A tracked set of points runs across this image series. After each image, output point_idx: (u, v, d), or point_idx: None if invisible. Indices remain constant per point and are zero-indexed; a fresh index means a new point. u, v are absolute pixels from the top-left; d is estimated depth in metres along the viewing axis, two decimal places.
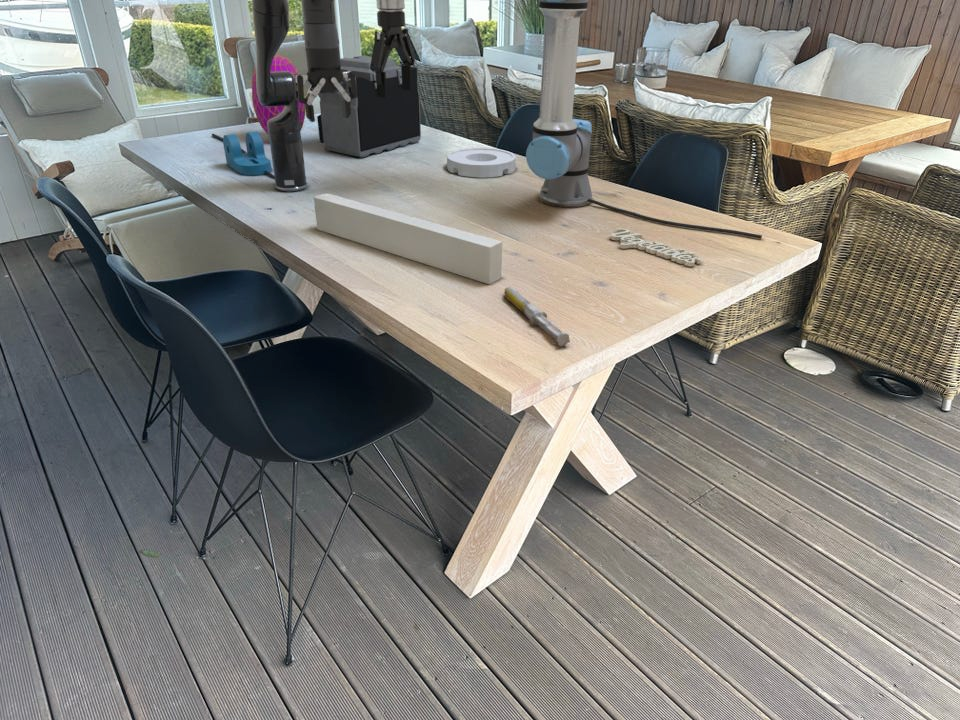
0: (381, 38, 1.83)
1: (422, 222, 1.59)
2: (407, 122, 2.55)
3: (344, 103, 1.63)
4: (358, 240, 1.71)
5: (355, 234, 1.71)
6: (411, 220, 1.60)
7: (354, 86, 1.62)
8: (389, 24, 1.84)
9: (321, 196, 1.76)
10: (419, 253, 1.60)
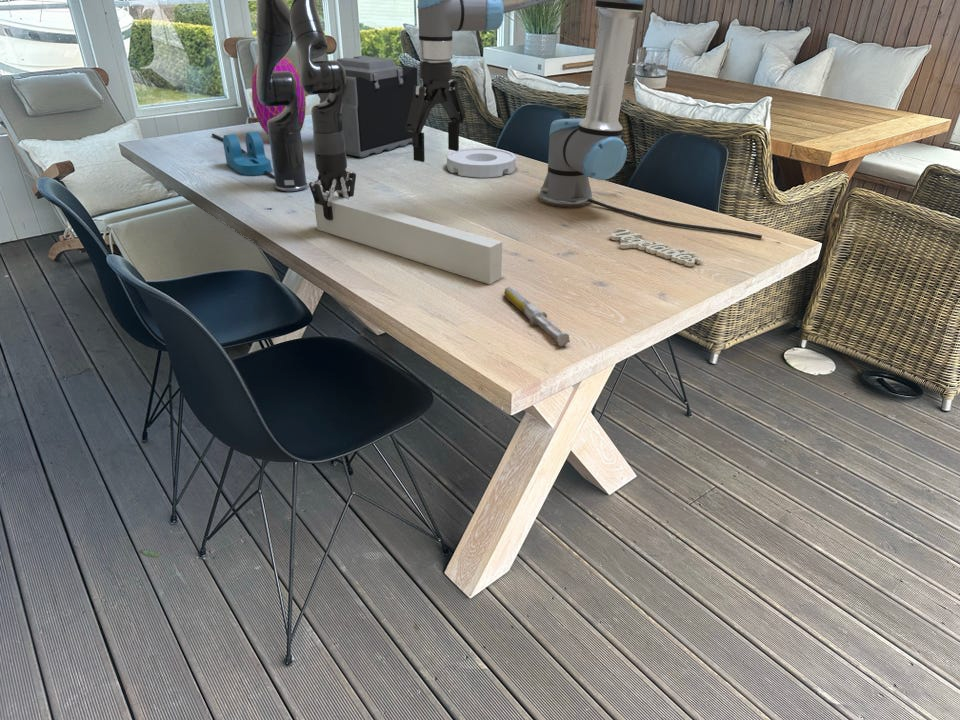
0: (420, 94, 1.53)
1: (422, 222, 1.59)
2: None
3: None
4: (358, 240, 1.71)
5: (355, 234, 1.71)
6: (411, 220, 1.60)
7: (353, 186, 1.76)
8: (431, 77, 1.54)
9: None
10: (419, 253, 1.60)
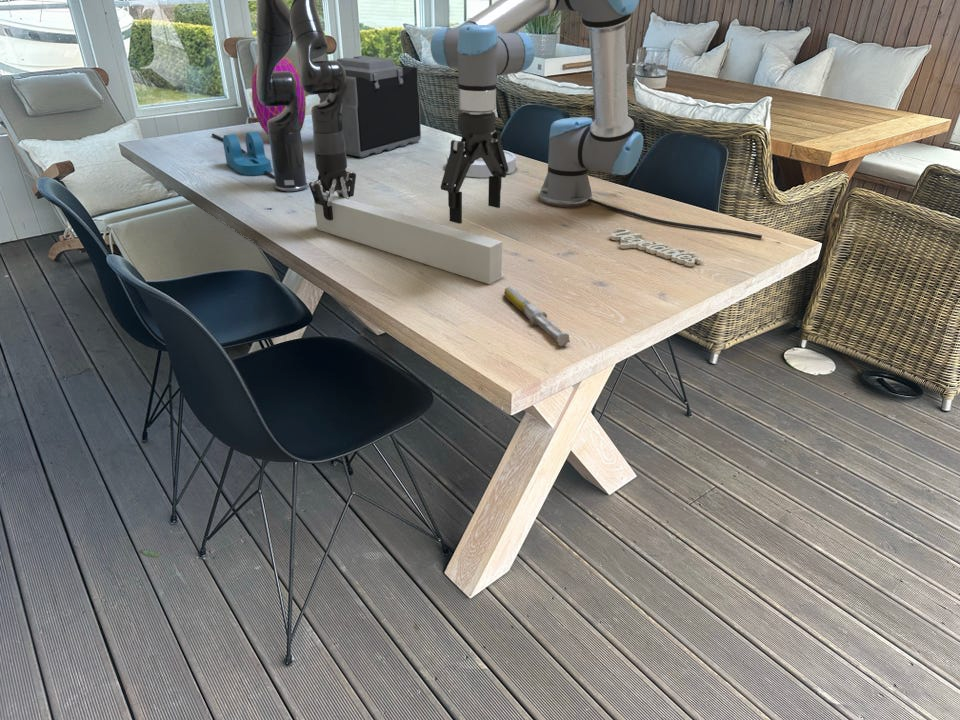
0: (458, 150, 1.35)
1: (422, 222, 1.59)
2: (407, 122, 2.55)
3: None
4: (358, 240, 1.71)
5: (355, 234, 1.71)
6: (411, 220, 1.60)
7: (353, 186, 1.76)
8: (472, 131, 1.35)
9: None
10: (419, 253, 1.60)
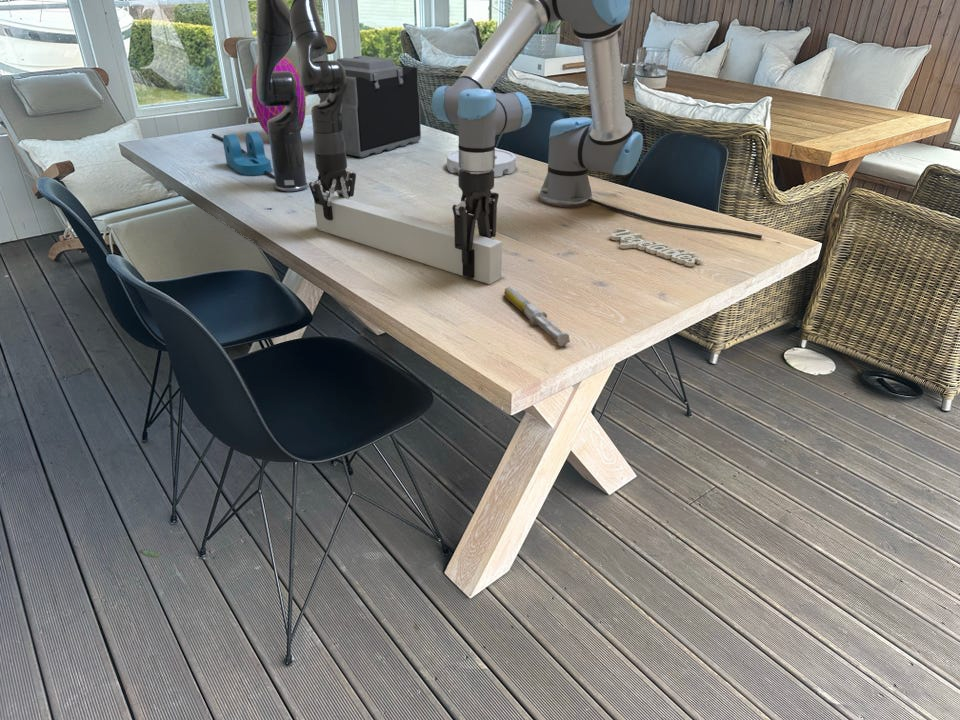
0: (461, 215, 1.42)
1: (422, 222, 1.59)
2: (407, 122, 2.55)
3: None
4: (358, 240, 1.71)
5: (355, 234, 1.71)
6: (411, 220, 1.60)
7: (353, 186, 1.76)
8: (471, 189, 1.41)
9: None
10: (419, 253, 1.60)
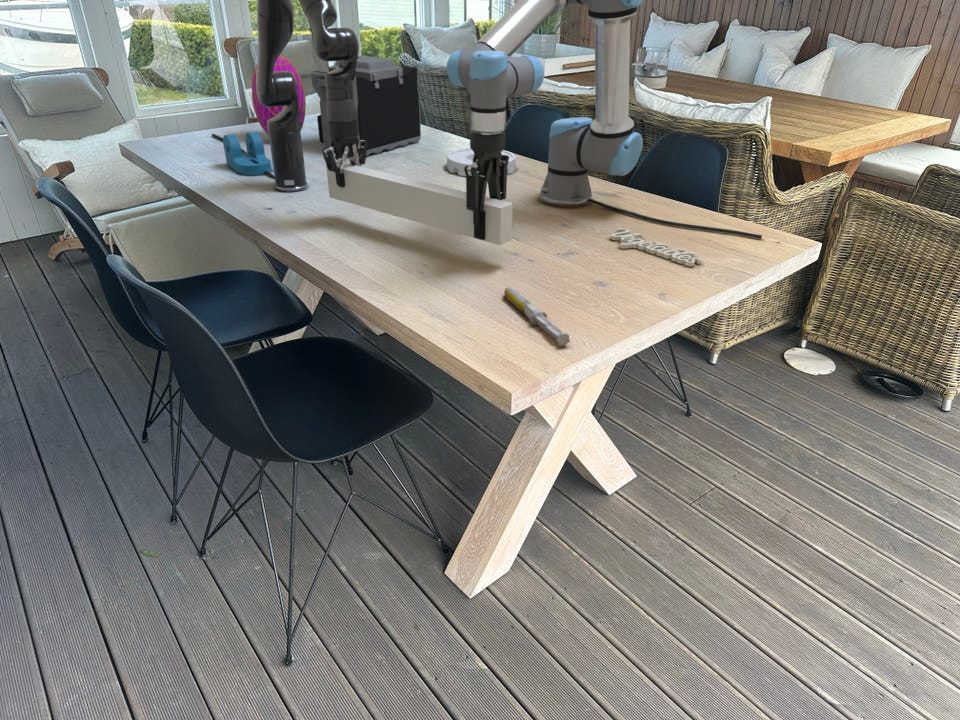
0: (473, 175, 1.45)
1: (433, 186, 1.62)
2: (407, 122, 2.55)
3: None
4: (370, 206, 1.75)
5: (367, 201, 1.74)
6: (422, 185, 1.64)
7: (365, 154, 1.79)
8: (483, 150, 1.44)
9: None
10: (431, 216, 1.63)
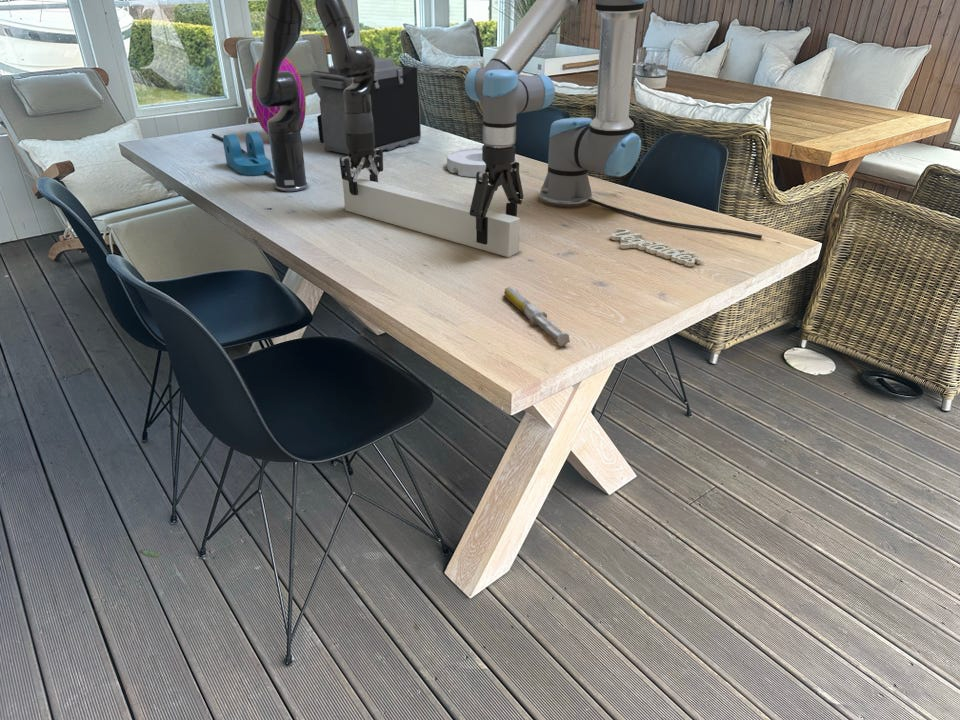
0: (483, 181, 1.54)
1: (445, 201, 1.73)
2: (407, 122, 2.55)
3: (373, 176, 1.89)
4: (384, 219, 1.85)
5: (381, 214, 1.85)
6: (435, 200, 1.74)
7: (381, 161, 1.88)
8: (495, 162, 1.54)
9: None
10: (442, 229, 1.74)
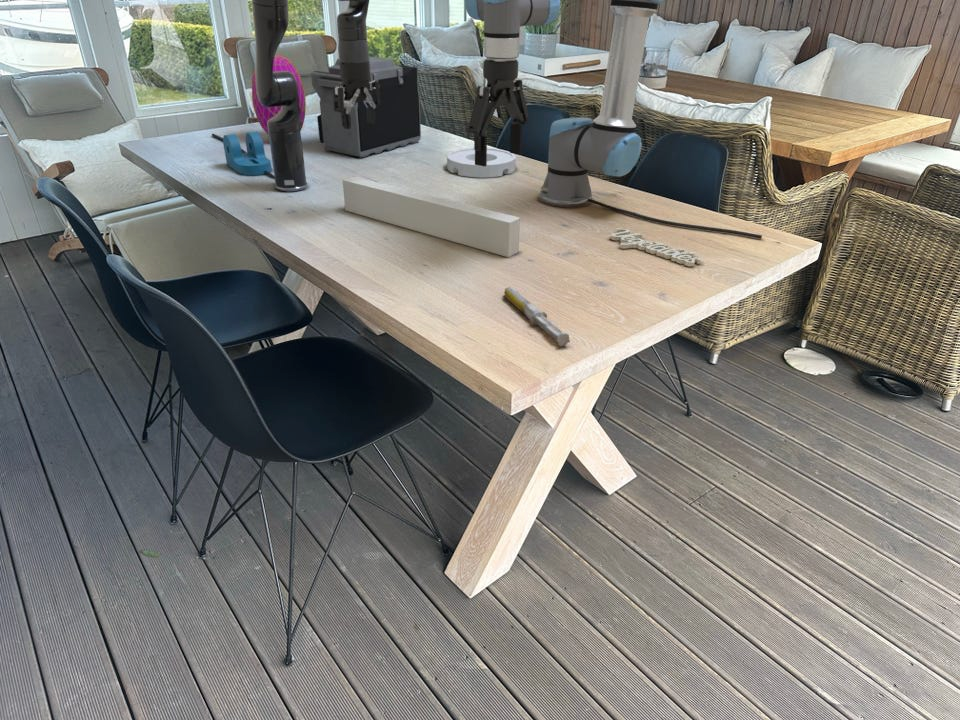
0: (484, 95, 1.44)
1: (445, 201, 1.73)
2: (407, 122, 2.55)
3: (370, 110, 1.80)
4: (384, 219, 1.85)
5: (381, 214, 1.85)
6: (435, 200, 1.74)
7: (378, 94, 1.80)
8: (496, 77, 1.45)
9: (349, 179, 1.89)
10: (442, 229, 1.74)
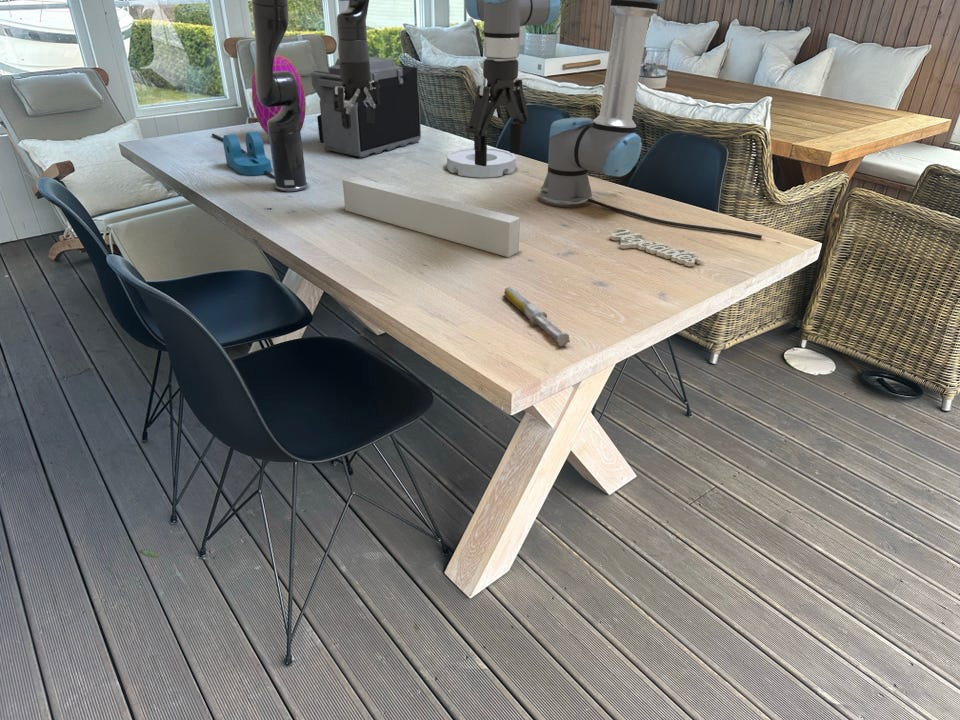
0: (484, 94, 1.44)
1: (445, 201, 1.73)
2: (407, 122, 2.55)
3: (370, 110, 1.80)
4: (384, 219, 1.85)
5: (381, 214, 1.85)
6: (435, 200, 1.74)
7: (378, 94, 1.80)
8: (496, 76, 1.45)
9: (349, 179, 1.89)
10: (442, 229, 1.74)
